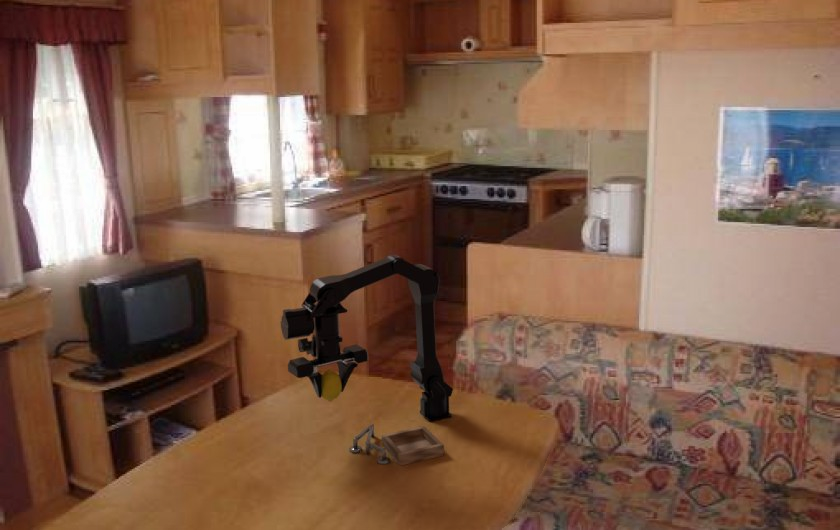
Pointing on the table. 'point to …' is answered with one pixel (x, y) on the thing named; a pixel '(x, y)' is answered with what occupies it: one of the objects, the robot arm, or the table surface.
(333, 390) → the lemon
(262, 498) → the table surface
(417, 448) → the tray
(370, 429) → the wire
